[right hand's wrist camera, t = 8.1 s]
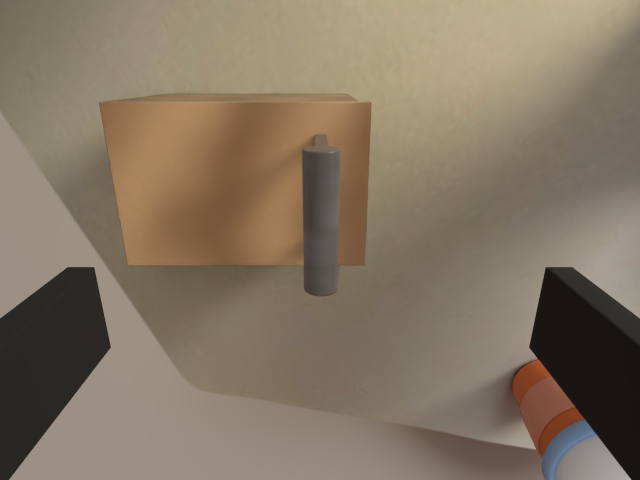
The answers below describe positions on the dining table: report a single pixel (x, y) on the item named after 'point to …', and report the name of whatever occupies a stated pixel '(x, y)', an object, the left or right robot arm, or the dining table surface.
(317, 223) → the lid
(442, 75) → the dining table surface
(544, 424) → the cup with straw
